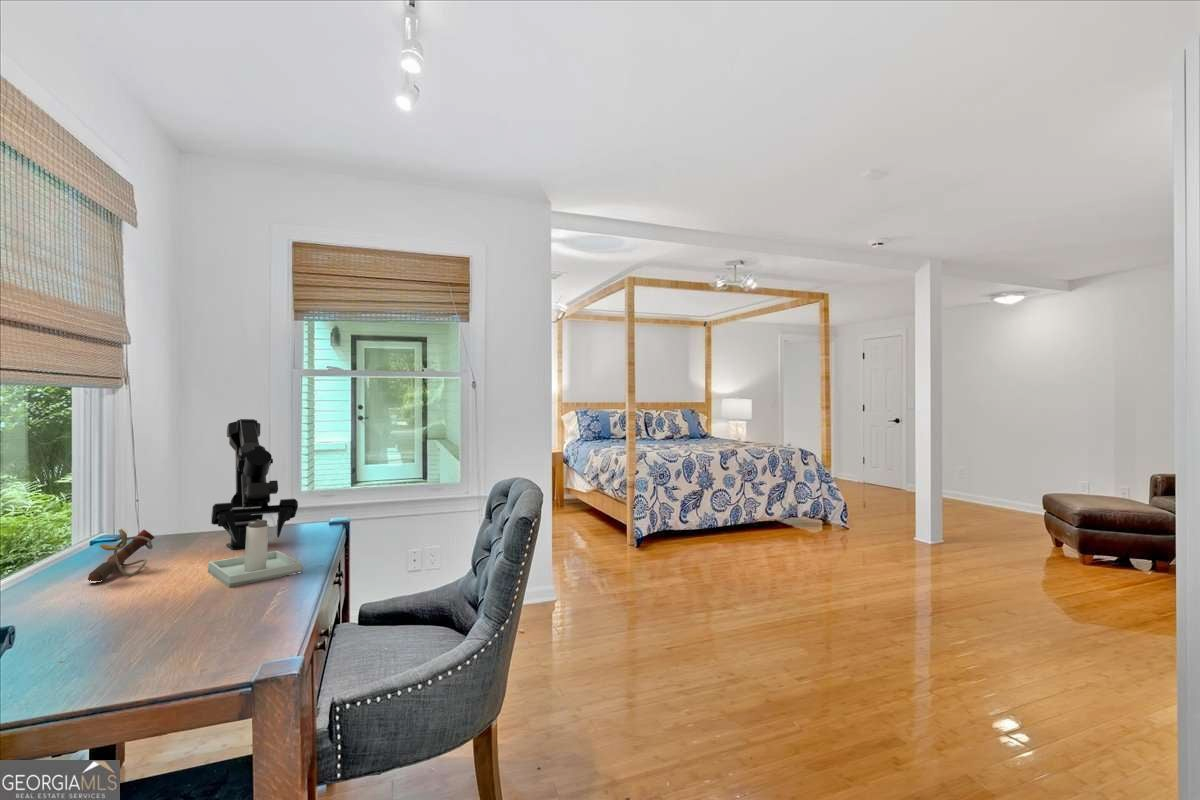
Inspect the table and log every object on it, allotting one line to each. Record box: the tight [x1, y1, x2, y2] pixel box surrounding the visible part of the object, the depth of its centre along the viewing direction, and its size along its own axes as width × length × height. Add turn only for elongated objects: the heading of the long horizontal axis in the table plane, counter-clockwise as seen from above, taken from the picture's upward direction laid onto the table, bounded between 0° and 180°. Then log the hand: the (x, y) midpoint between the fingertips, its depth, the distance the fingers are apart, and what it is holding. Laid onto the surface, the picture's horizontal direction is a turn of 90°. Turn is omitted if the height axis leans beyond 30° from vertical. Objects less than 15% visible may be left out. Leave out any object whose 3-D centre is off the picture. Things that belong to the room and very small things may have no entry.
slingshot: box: [87, 528, 155, 582], centre depth 131 cm, size 17×10×15 cm
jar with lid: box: [244, 519, 270, 572], centre depth 138 cm, size 5×5×12 cm
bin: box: [207, 550, 303, 588], centre depth 138 cm, size 16×16×2 cm
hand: (257, 538), depth 137 cm, fingers open, 9 cm apart
